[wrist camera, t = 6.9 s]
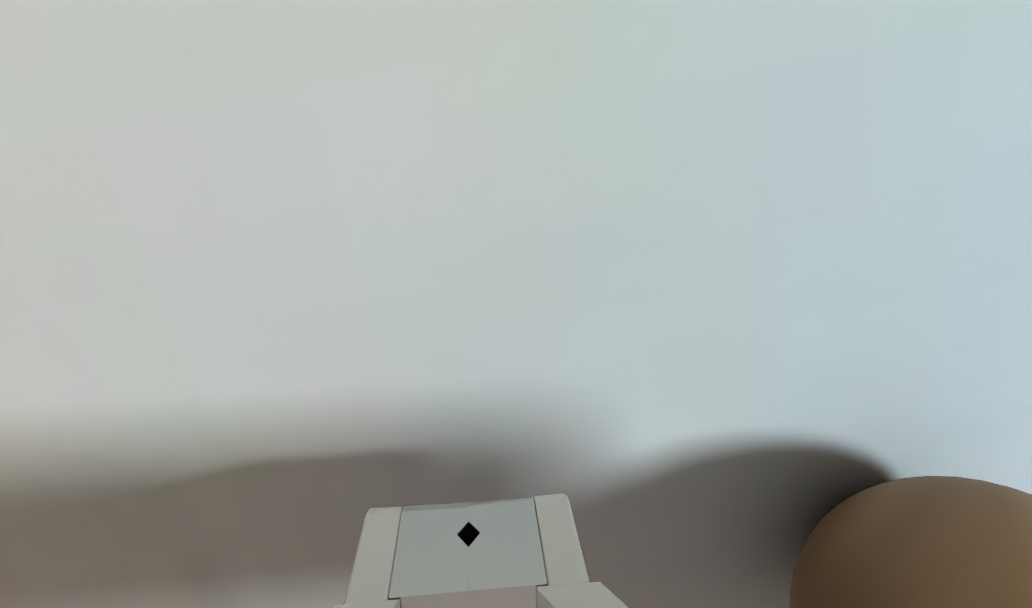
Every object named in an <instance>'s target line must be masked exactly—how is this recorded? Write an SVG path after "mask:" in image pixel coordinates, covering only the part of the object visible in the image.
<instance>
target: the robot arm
mask: <svg viewBox="0 0 1032 608" xmlns="http://www.w3.org/2000/svg"><path fill="white" fill-rule="evenodd" d="M331 608H628V607H627V606H626V605H625V604H624V603H623V602H622V601H621V600H620V599H619V598H618V597H616V596H615V595H614V594H613V593H612V592H611V591H610V590H609V589H608V588H607V587H606V586H605V585H603V584H602V583H601V582H590V581H589V577H588V573H587V569H586V565H585V562H584V558H583V554H582V550H581V546H580V542H579V538H578V534H577V530H576V526H575V522H574V518H573V514H572V510H571V506H570V502H569V498H568V497H567V495H566V494H565V493H562V494H551V495H540V496H533V498H532V497H523V498H512V499H500V500H488V501H476V502H465V503H445V504H426V505H407V506H404V507H382V508H370V509H369V511H368V512H367V514H366V515H365V518H364V523H363V527H362V531H361V535H360V539H359V544H358V548H357V552H356V556H355V560H354V564H353V569H352V573H351V577H350V581H349V585H348V589H347V594H346V598H345V602H344V604H340V605H333V606H332V607H331Z"/></svg>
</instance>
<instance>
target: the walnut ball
mask: <svg viewBox="0 0 1032 608" xmlns="http://www.w3.org/2000/svg"><path fill="white" fill-rule="evenodd" d="M789 608H1032V495H1031V494H1028V493H1025V492H1022V491H1020V490H1017V489H1014V488H1010V487H1006V486H1002V485H998V484H994V483H990V482H986V481H982V480H975V479H968V478H961V477H945V476H924V477H912V478H903V479H898V480H894V481H889V482H885V483H881V484H878V485H875V486H873V487H870V488H867V489H865V490H862V491H860V492H858V493H856V494H855V495H853V496H851V497H849V498H847V499H846V500H844V501H842V502H841V503H839V504H838V505H837V506H835V507H834V508H833V509H832V510H831V511H829V512H828V513H827V514H826V515H825V516H824V517H823V518H822V519H821V520H820V522H819V523H818V524H817V526H816V527H815V528H814V529H813V531H812V532H811V533H810V535H809V536H808V538H807V540H806V542H805V544H804V546H803V547H802V549H801V551H800V553H799V556H798V559H797V562H796V565H795V568H794V571H793V576H792V582H791V588H790V606H789Z"/></svg>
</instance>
